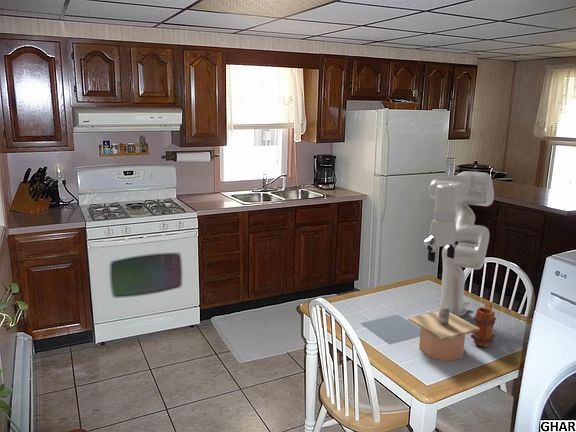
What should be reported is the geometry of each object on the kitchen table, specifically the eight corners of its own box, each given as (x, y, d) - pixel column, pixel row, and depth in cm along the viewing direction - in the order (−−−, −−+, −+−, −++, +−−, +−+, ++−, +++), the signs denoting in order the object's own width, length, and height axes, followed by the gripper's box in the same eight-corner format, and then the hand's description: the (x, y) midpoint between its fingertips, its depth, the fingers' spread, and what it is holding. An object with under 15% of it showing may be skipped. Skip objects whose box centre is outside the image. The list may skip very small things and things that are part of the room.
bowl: (441, 336, 189) (443, 313, 186) (472, 354, 175) (474, 330, 173) (411, 344, 182) (412, 320, 180) (439, 364, 168) (442, 338, 166)
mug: (491, 351, 177) (495, 315, 174) (468, 346, 181) (472, 310, 178) (497, 336, 189) (501, 301, 186) (476, 330, 193) (479, 297, 190)
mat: (397, 315, 208) (397, 314, 207) (429, 334, 190) (429, 333, 190) (360, 324, 199) (360, 323, 199) (389, 345, 182) (389, 344, 182)
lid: (444, 311, 188) (445, 295, 186) (479, 330, 172) (481, 313, 171) (408, 320, 181) (409, 303, 179) (441, 340, 165) (443, 322, 163)
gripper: (454, 212, 185) (450, 253, 189) (419, 216, 178) (416, 259, 182) (468, 216, 179) (464, 259, 183) (433, 221, 171) (430, 265, 175)
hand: (440, 259), depth 182 cm, fingers open, 9 cm apart
